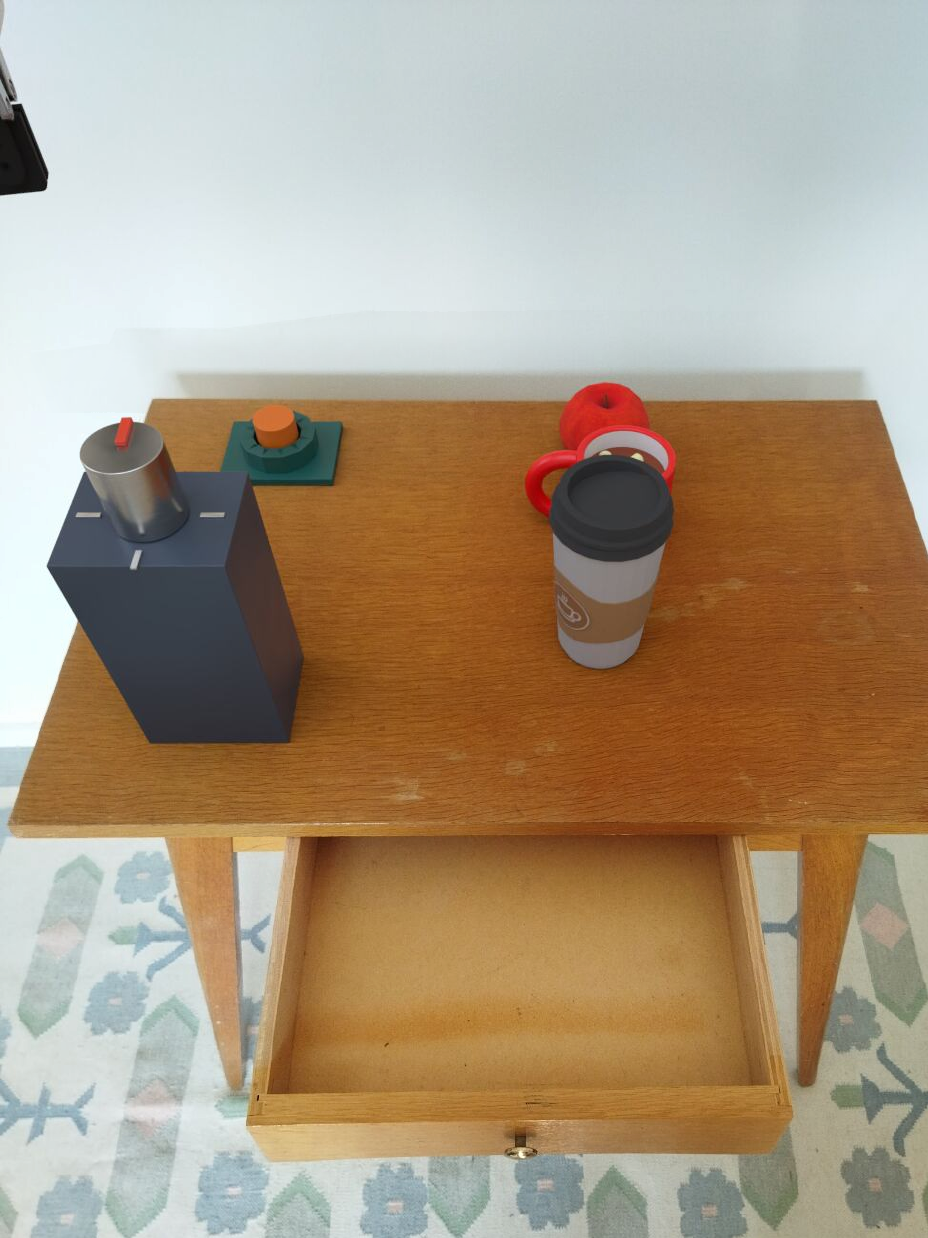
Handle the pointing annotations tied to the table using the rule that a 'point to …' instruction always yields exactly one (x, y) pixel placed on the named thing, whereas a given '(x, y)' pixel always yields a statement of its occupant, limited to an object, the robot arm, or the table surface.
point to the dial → (135, 480)
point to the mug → (603, 442)
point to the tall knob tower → (187, 615)
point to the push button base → (286, 454)
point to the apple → (600, 412)
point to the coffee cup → (607, 555)
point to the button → (275, 426)
